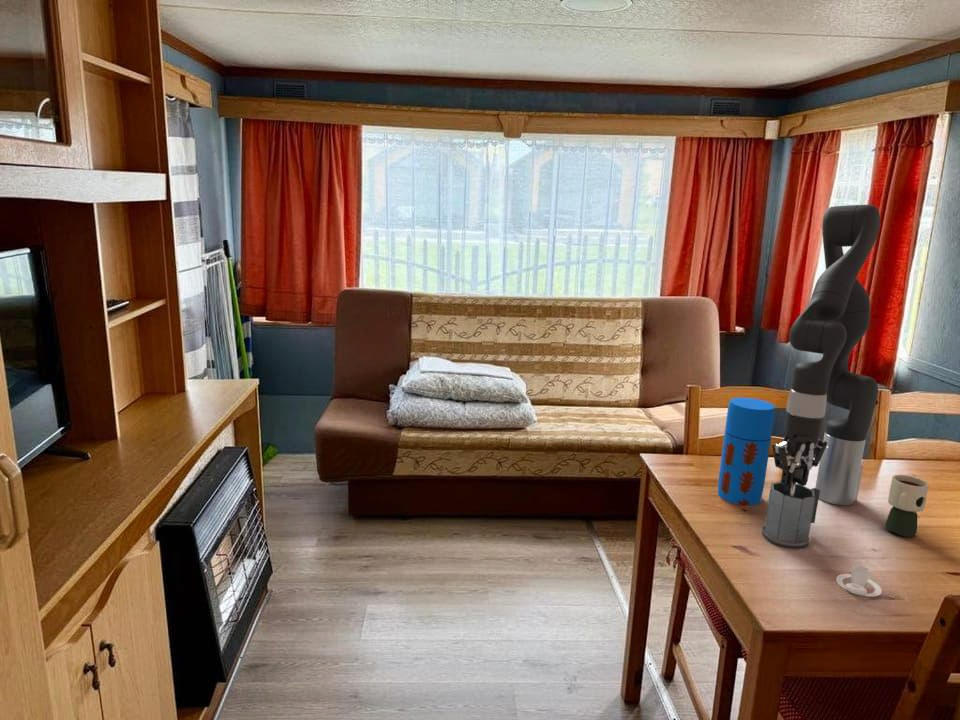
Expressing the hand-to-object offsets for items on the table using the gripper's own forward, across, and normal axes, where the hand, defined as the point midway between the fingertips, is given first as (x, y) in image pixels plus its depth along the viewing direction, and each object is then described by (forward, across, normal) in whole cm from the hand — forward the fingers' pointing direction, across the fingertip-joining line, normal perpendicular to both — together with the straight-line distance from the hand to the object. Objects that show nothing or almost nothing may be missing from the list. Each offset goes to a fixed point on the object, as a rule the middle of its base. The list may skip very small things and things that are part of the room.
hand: (793, 485), depth 146 cm
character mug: (+13, -29, +6) cm, 32 cm away
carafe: (+13, -1, 0) cm, 13 cm away
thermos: (+13, -6, -21) cm, 25 cm away
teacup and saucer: (+14, +3, +18) cm, 23 cm away
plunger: (+10, 0, 0) cm, 10 cm away
